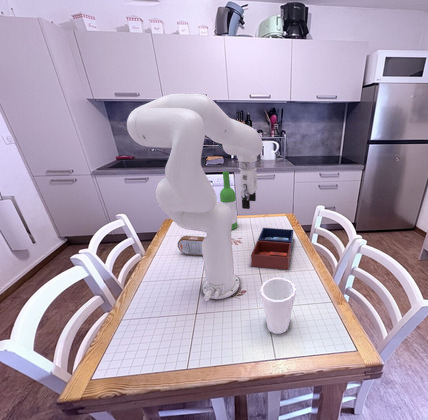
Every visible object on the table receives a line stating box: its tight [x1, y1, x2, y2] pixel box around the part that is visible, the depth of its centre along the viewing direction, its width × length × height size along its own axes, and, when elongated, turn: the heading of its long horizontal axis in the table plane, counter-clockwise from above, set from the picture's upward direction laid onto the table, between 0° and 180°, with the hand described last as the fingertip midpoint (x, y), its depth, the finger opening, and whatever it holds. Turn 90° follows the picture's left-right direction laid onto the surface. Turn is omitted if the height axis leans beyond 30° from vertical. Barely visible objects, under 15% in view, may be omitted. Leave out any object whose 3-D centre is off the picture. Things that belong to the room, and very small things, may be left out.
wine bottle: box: [219, 170, 238, 231], centre depth 120 cm, size 8×8×30 cm
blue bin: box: [257, 227, 294, 251], centre depth 108 cm, size 11×15×6 cm
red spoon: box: [260, 252, 287, 257], centre depth 97 cm, size 11×4×3 cm, turn 82°
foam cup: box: [260, 277, 297, 335], centre depth 66 cm, size 10×9×13 cm
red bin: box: [250, 240, 292, 271], centre depth 97 cm, size 11×15×6 cm
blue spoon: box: [265, 237, 289, 241], centre depth 109 cm, size 11×4×3 cm, turn 82°
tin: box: [177, 235, 206, 257], centre depth 100 cm, size 15×3×8 cm, turn 84°
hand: (249, 204), depth 102 cm, fingers open, 9 cm apart
